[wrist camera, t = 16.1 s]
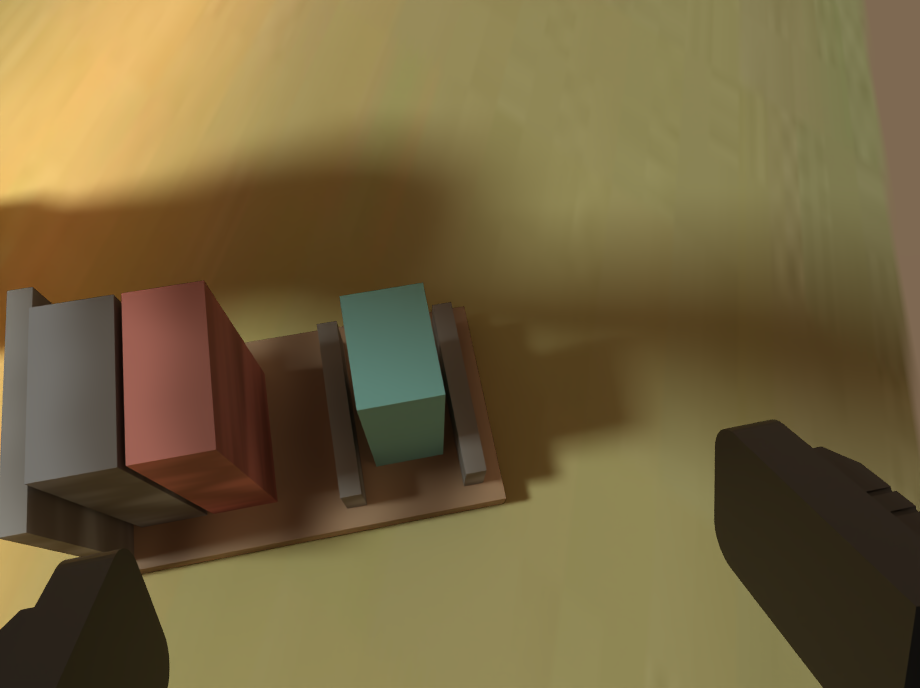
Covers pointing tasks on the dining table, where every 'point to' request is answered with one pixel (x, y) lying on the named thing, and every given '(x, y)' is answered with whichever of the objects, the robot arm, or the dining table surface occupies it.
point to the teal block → (395, 372)
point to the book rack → (211, 432)
